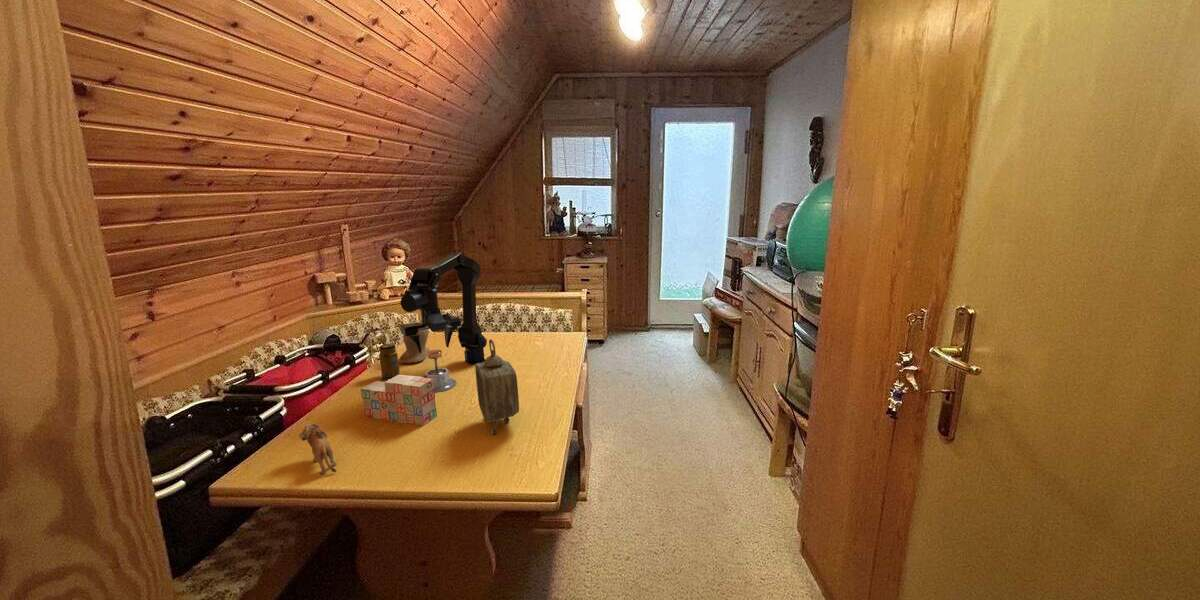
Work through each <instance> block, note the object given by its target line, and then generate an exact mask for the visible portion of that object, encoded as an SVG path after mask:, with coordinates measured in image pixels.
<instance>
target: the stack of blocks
mask: <svg viewBox="0 0 1200 600" xmlns="http://www.w3.org/2000/svg"><path fill="white" fill-rule="evenodd" d="M360 393H361V399H362V403H363V405H362V406H363V411H364V415H365V417H366V418H371V419H376V418H377V419H376V420H383V419H384V420H383V421H389V420H392V421H391V422H396V421H398V423H402V424H403V423H405V424H410V425H415V424H416V425H417V426H422V427H424V426H426V425H427V424H429V423H430V422H431V421H433V420H434V419H435V418H437V416H438V414H437V405H436V393H435V392H434V384H433V379H431V378H424V377H420V376H419V375H418V376H417V375H416V376H415V375H406V374H404V375H403V374H402V375H397V376H395V377H393V378H392V379H390V380H388V381H386V382H383V381H378V380H376V381H374V382H372V383H369V384H368V385H366V386H363V387H362V388H360Z"/></svg>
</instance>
